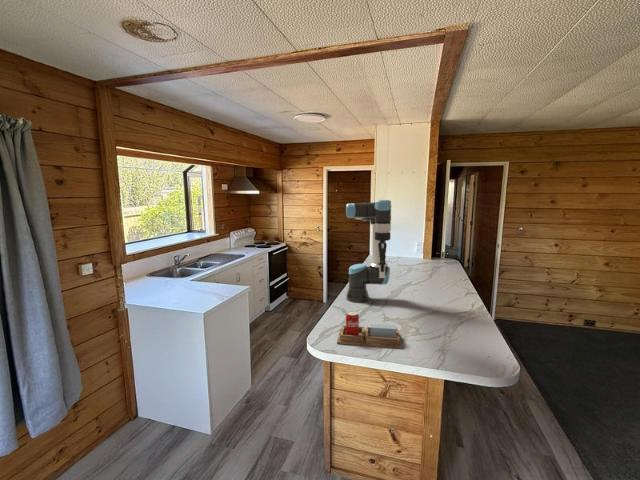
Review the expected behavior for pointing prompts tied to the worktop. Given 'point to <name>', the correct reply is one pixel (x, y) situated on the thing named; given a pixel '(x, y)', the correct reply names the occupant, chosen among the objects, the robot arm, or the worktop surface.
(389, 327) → the bar
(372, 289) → the worktop surface
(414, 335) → the worktop surface
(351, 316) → the beverage can
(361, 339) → the tray
